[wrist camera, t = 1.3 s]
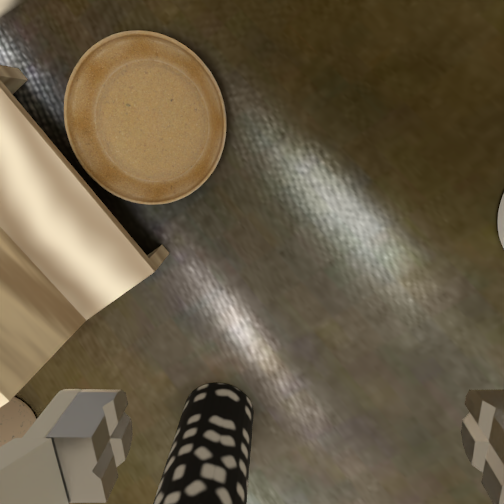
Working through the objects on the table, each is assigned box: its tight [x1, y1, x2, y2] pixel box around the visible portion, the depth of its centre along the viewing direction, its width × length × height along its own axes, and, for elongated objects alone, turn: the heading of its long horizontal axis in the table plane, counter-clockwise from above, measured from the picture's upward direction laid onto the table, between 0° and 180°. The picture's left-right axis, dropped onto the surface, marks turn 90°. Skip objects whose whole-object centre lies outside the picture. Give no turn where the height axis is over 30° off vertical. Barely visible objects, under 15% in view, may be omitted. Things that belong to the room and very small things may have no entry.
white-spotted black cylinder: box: [153, 383, 253, 504], centre depth 38 cm, size 8×8×20 cm
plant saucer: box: [64, 30, 226, 205], centre depth 36 cm, size 15×15×3 cm
